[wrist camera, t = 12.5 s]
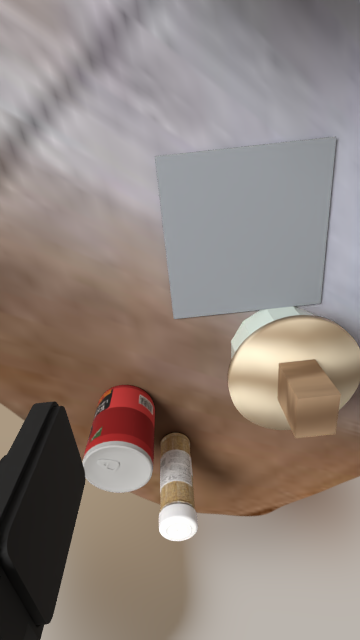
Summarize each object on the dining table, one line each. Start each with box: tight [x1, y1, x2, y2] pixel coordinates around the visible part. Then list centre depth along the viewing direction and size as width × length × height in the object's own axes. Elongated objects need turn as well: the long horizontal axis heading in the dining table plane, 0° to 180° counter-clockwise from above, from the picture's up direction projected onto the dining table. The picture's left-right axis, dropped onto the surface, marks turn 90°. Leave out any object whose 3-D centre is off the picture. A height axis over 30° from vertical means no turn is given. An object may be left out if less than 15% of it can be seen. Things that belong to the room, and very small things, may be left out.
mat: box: [155, 137, 336, 319], centre depth 38 cm, size 18×18×1 cm
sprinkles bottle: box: [159, 433, 198, 541], centre depth 45 cm, size 5×5×14 cm
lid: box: [228, 315, 360, 438], centre depth 36 cm, size 15×15×7 cm
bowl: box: [231, 306, 313, 357], centre depth 42 cm, size 12×12×6 cm
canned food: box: [83, 385, 155, 493], centre depth 43 cm, size 8×8×11 cm
